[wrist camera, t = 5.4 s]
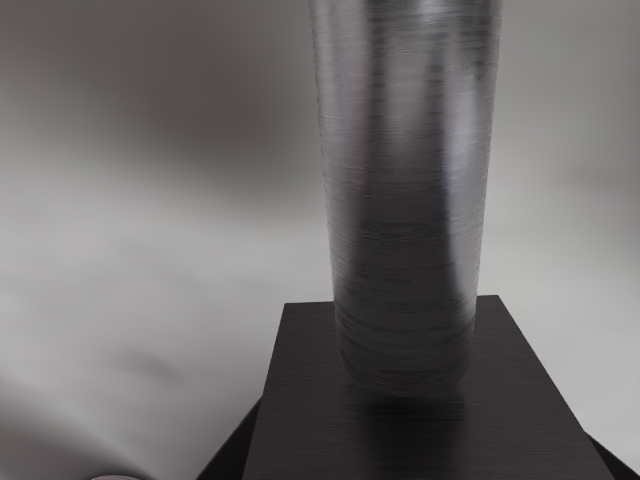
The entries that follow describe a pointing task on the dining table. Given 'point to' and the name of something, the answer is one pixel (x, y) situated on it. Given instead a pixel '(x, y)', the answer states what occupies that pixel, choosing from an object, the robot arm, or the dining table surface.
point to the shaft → (409, 273)
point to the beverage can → (114, 478)
